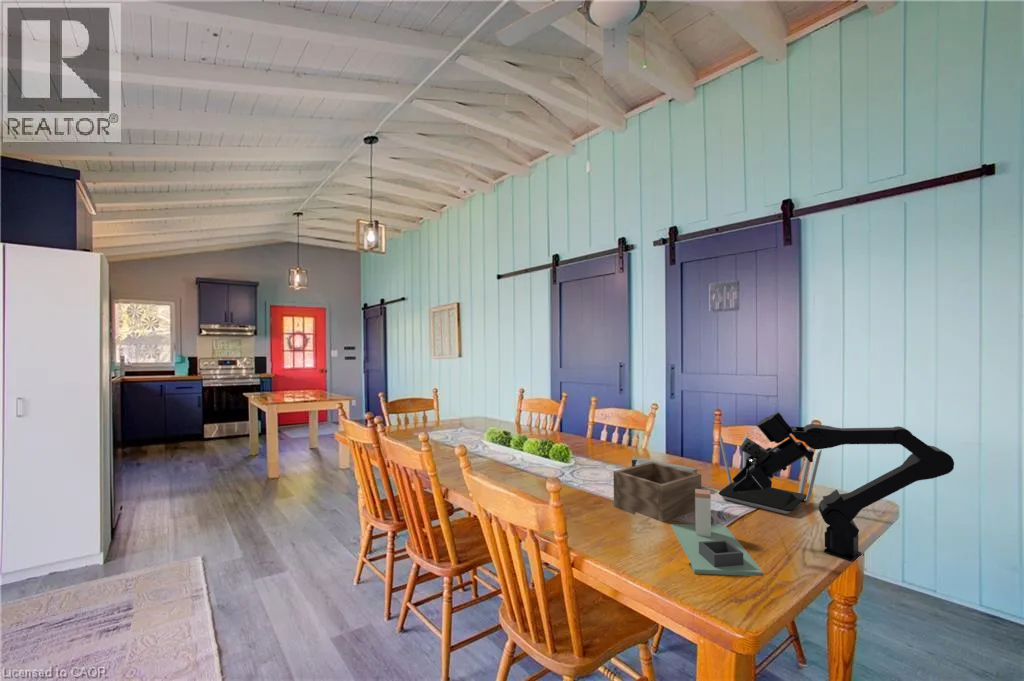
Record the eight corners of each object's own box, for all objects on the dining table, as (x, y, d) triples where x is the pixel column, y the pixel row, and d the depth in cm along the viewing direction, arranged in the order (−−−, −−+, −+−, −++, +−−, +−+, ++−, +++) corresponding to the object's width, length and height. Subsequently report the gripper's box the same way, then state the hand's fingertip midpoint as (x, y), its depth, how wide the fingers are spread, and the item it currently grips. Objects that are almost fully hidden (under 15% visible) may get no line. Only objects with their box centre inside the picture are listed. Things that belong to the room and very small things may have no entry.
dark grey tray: (726, 551, 126) (726, 539, 126) (743, 564, 118) (743, 552, 118) (698, 553, 125) (698, 541, 125) (714, 567, 117) (714, 555, 117)
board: (670, 527, 144) (669, 523, 144) (725, 528, 142) (725, 525, 142) (694, 573, 116) (694, 569, 116) (763, 576, 115) (763, 572, 115)
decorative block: (635, 472, 203) (635, 454, 203) (704, 487, 181) (704, 467, 181) (625, 475, 198) (624, 457, 198) (694, 492, 176) (694, 471, 176)
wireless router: (703, 496, 171) (702, 440, 171) (730, 481, 187) (730, 431, 187) (809, 522, 146) (808, 457, 146) (831, 503, 162) (830, 444, 162)
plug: (710, 531, 138) (709, 490, 138) (710, 536, 135) (710, 494, 135) (695, 529, 140) (695, 488, 140) (695, 534, 136) (695, 493, 136)
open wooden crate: (701, 510, 157) (701, 474, 157) (662, 525, 146) (662, 486, 146) (652, 494, 174) (652, 461, 174) (613, 506, 162) (613, 471, 162)
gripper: (760, 425, 142) (715, 454, 147) (763, 438, 125) (712, 469, 130) (787, 457, 139) (740, 485, 144) (793, 474, 122) (740, 505, 127)
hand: (733, 485), depth 136 cm, fingers open, 9 cm apart
